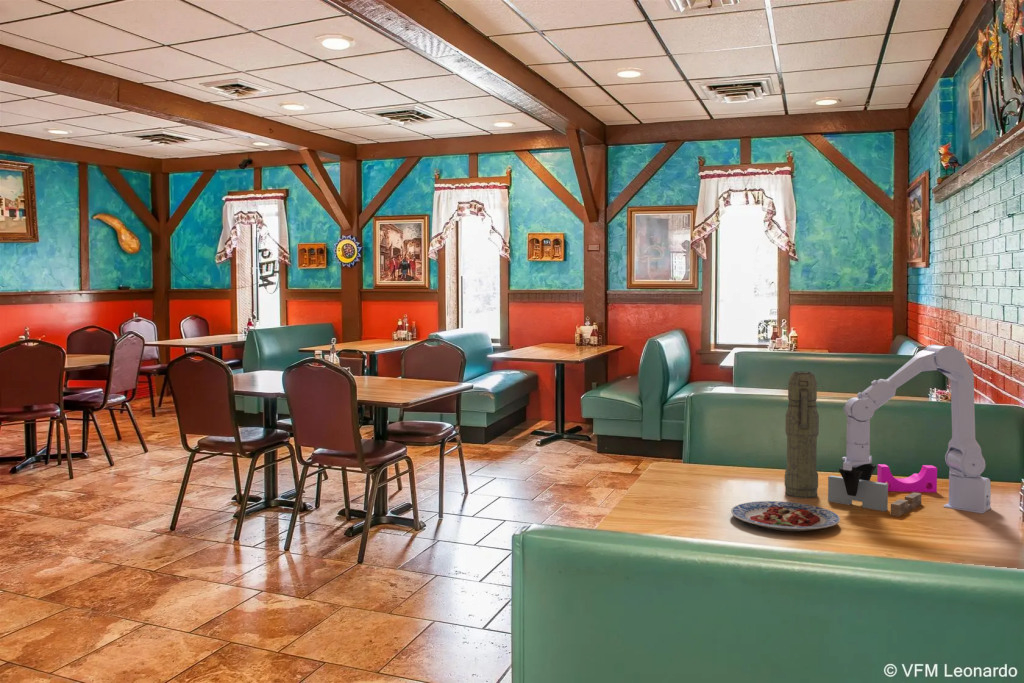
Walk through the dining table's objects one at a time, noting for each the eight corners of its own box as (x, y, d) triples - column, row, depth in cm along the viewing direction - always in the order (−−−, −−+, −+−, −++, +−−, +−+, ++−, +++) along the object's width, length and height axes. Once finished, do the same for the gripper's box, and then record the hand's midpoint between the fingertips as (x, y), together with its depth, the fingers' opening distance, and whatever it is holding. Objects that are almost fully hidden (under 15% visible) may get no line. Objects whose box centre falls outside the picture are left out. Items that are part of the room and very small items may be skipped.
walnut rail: (913, 503, 217) (913, 492, 217) (921, 504, 216) (921, 493, 216) (890, 515, 205) (890, 503, 205) (898, 516, 204) (898, 505, 204)
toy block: (928, 489, 235) (928, 463, 235) (936, 494, 229) (937, 468, 228) (874, 487, 237) (874, 462, 237) (881, 492, 231) (881, 466, 230)
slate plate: (887, 509, 211) (888, 483, 210) (884, 511, 209) (885, 484, 209) (831, 500, 221) (831, 475, 221) (827, 501, 220) (828, 476, 219)
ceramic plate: (755, 504, 218) (755, 493, 218) (853, 520, 202) (853, 508, 202) (713, 524, 198) (713, 512, 198) (819, 543, 182) (819, 531, 182)
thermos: (789, 500, 222) (791, 374, 220) (780, 490, 233) (781, 370, 232) (823, 500, 221) (824, 374, 219) (812, 490, 232) (813, 370, 231)
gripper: (853, 437, 222) (853, 486, 223) (831, 444, 212) (831, 495, 213) (880, 440, 217) (879, 490, 218) (858, 447, 207) (858, 499, 208)
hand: (857, 493), depth 215 cm, fingers open, 7 cm apart
